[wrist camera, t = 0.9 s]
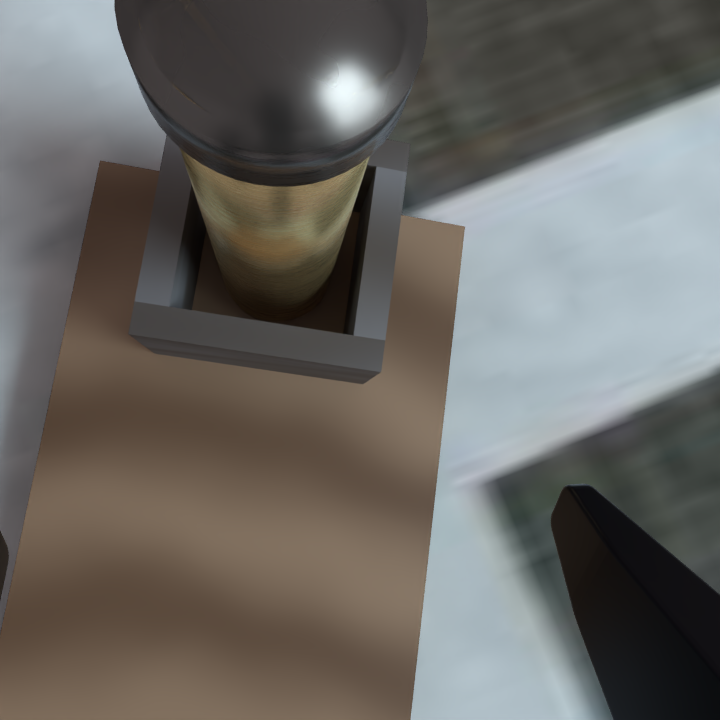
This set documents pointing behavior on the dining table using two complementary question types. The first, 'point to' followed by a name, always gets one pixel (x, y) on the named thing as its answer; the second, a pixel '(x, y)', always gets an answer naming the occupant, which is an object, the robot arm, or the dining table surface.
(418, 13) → the brass peg
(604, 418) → the dining table surface
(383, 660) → the board with square socket
